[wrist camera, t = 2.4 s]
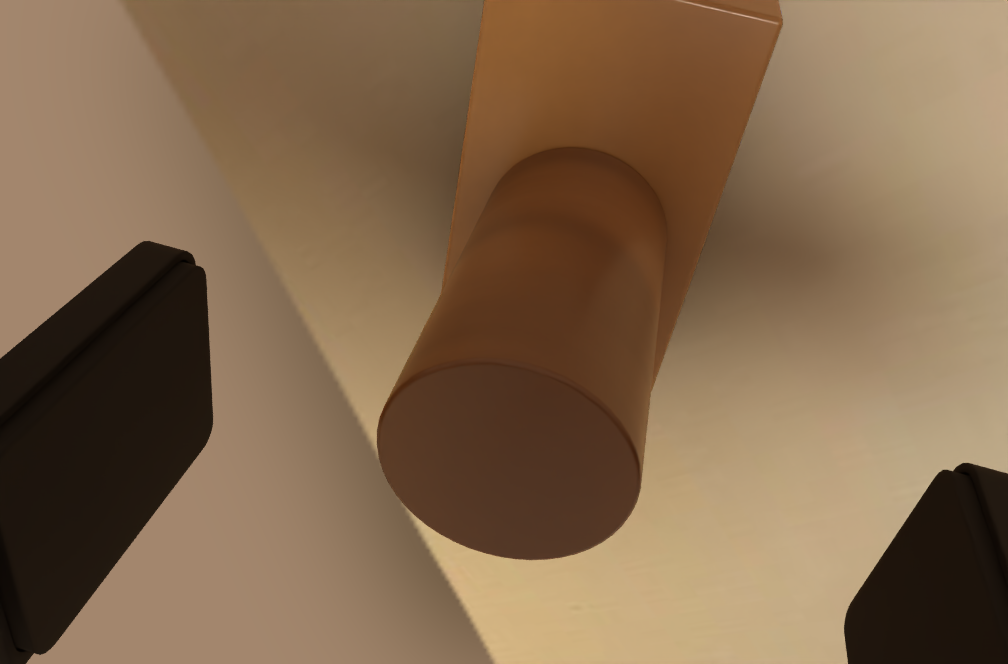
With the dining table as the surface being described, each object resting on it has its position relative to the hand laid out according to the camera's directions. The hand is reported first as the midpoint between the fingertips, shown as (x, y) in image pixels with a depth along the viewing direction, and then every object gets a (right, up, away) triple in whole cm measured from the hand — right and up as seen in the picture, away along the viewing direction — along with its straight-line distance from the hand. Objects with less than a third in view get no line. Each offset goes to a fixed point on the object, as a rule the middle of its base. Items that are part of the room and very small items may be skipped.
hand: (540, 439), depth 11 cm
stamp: (+1, +5, +6) cm, 8 cm away
